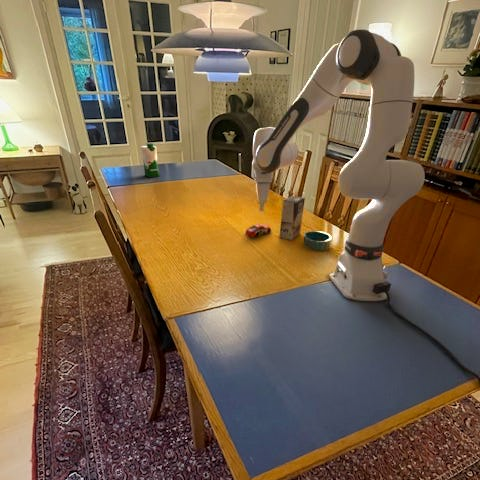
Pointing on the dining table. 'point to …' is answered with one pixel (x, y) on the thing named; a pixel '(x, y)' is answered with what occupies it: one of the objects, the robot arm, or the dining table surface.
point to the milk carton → (150, 160)
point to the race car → (257, 230)
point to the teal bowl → (317, 240)
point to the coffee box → (291, 217)
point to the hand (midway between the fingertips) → (260, 207)
